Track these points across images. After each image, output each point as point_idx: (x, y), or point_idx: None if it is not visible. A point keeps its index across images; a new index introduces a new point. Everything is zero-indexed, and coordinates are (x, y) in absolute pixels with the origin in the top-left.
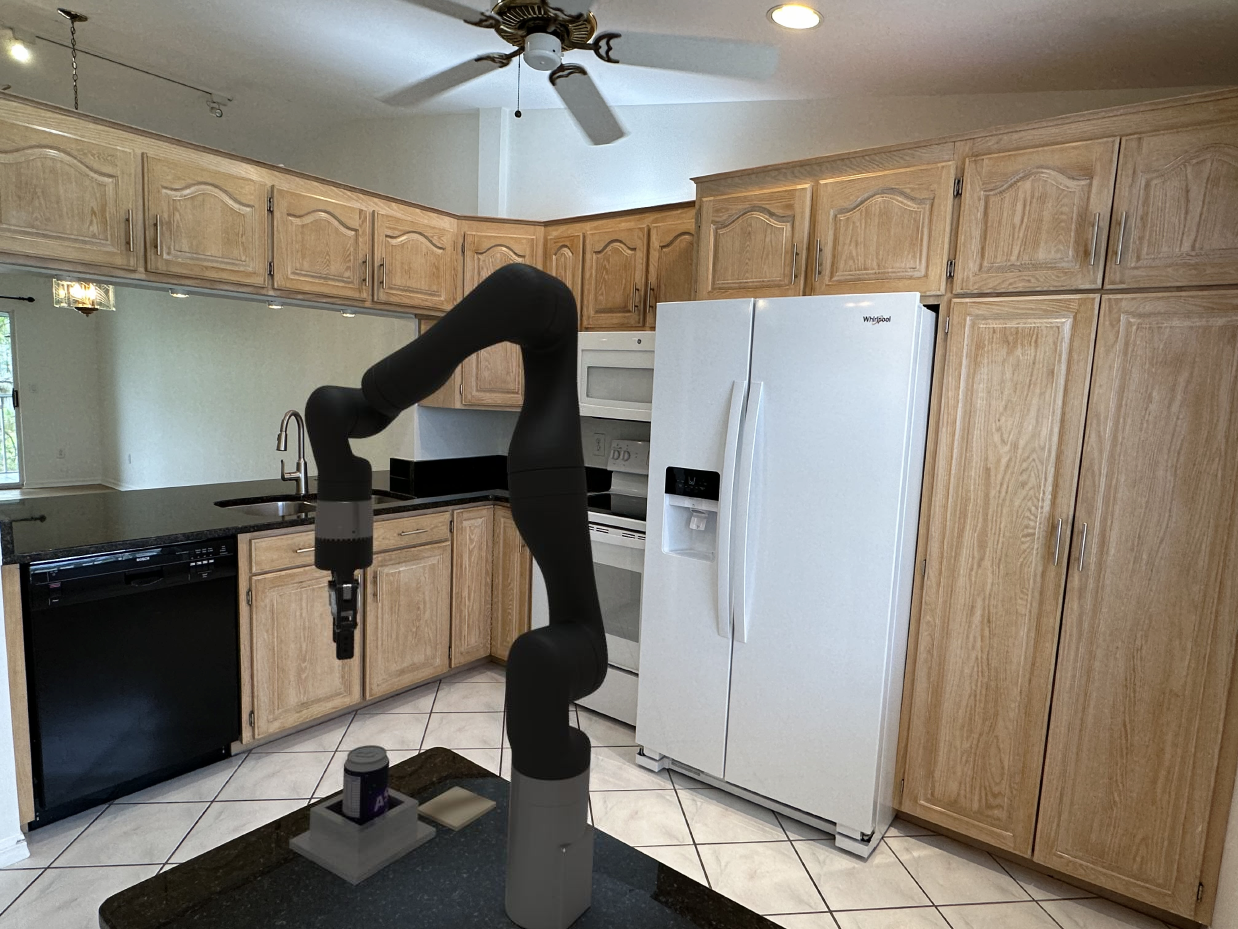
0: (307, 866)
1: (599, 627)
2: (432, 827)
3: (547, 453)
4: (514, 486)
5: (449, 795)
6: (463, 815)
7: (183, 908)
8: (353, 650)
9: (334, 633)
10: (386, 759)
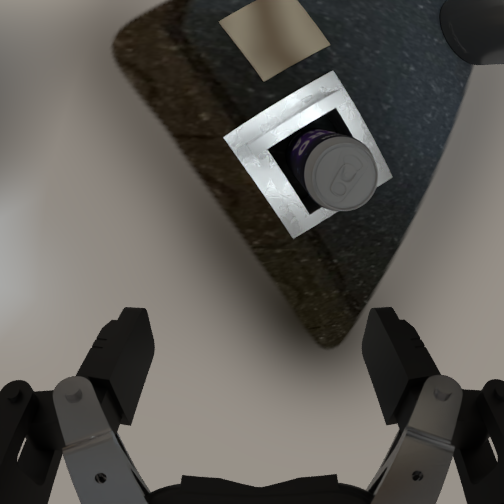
0: (335, 217)
1: None
2: (329, 73)
3: None
4: None
5: (243, 34)
6: (304, 29)
7: (350, 312)
8: (398, 322)
9: (145, 371)
10: (359, 143)
